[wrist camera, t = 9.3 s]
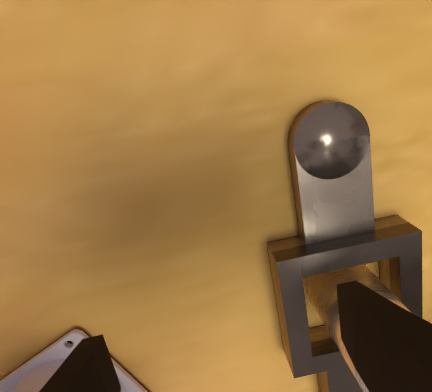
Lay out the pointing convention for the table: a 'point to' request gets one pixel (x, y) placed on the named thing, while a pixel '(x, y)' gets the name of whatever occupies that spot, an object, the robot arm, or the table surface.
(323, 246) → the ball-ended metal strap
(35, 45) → the table surface
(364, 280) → the steel pin
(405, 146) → the table surface
